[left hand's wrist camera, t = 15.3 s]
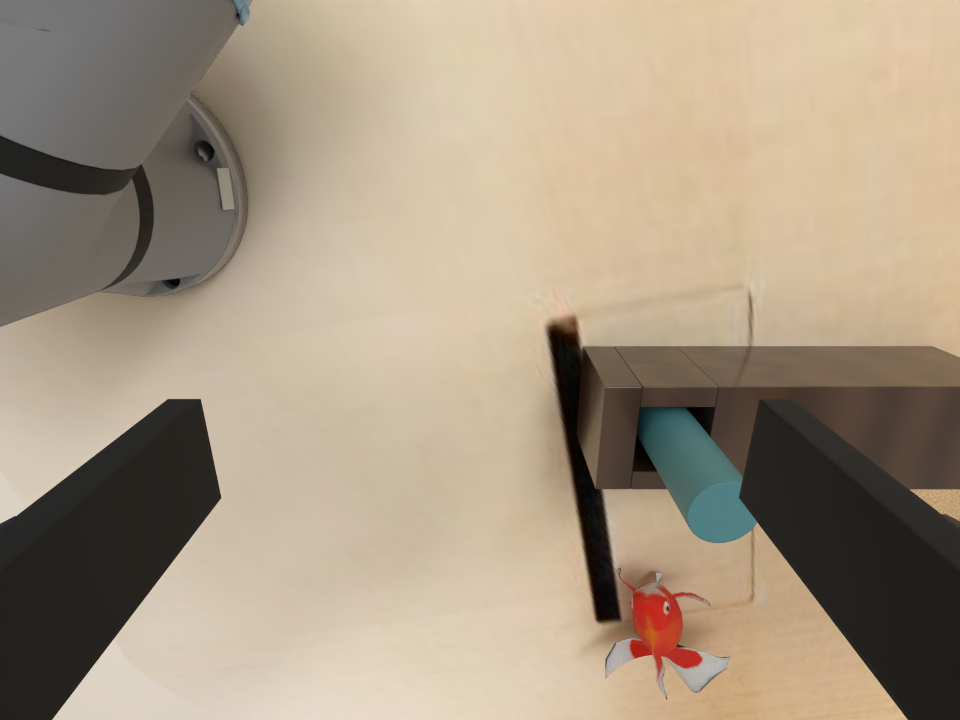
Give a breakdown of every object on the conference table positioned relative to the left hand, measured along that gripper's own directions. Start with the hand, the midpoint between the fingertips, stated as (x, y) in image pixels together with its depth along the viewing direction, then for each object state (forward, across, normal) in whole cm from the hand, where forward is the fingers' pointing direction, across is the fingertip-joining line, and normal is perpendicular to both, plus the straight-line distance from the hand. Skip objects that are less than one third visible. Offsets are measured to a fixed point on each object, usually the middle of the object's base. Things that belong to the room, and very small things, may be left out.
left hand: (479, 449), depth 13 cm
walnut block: (+29, +22, -12) cm, 38 cm away
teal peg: (+28, +13, -12) cm, 33 cm away
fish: (+29, +17, -34) cm, 48 cm away
